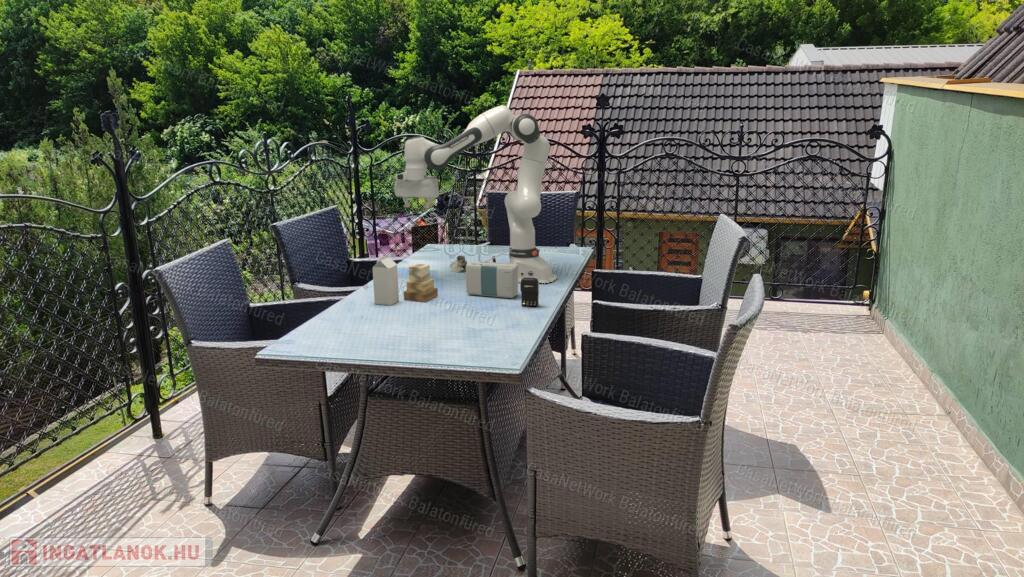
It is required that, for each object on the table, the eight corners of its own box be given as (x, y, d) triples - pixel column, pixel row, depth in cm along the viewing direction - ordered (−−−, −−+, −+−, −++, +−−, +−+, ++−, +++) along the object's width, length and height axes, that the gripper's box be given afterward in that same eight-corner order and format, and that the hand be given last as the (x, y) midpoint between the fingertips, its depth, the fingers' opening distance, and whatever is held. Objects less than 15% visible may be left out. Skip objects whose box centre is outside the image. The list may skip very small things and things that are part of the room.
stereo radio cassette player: (465, 295, 283) (464, 248, 278) (473, 290, 291) (472, 244, 285) (513, 300, 276) (512, 251, 271) (520, 295, 283) (519, 247, 278)
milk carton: (399, 301, 276) (396, 254, 271) (390, 305, 270) (387, 258, 265) (383, 299, 278) (380, 253, 274) (374, 304, 272) (371, 257, 267)
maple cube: (430, 279, 279) (429, 264, 278) (421, 282, 274) (421, 268, 273) (417, 277, 282) (417, 263, 280) (409, 281, 277) (408, 266, 275)
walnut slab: (437, 297, 283) (437, 288, 282) (425, 303, 274) (425, 294, 273) (416, 295, 286) (416, 285, 285) (404, 301, 278) (403, 291, 277)
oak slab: (434, 288, 281) (433, 278, 280) (424, 293, 274) (423, 283, 273) (417, 286, 284) (416, 277, 283) (406, 291, 277) (406, 281, 276)
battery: (519, 307, 266) (519, 278, 263) (522, 304, 270) (521, 276, 267) (537, 308, 264) (537, 279, 261) (539, 305, 268) (539, 276, 265)
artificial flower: (499, 274, 325) (496, 255, 320) (451, 280, 324) (448, 262, 319) (497, 265, 333) (494, 246, 328) (451, 271, 332) (447, 253, 327)
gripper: (441, 175, 293) (442, 207, 296) (399, 174, 300) (401, 205, 304) (433, 176, 287) (435, 209, 291) (391, 175, 295) (393, 207, 298)
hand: (417, 207), depth 297 cm, fingers open, 8 cm apart
